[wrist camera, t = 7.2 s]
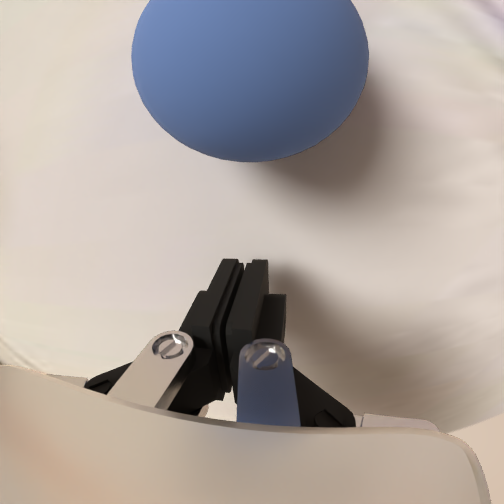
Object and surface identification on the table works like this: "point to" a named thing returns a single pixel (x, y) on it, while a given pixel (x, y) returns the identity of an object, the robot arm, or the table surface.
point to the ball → (250, 72)
